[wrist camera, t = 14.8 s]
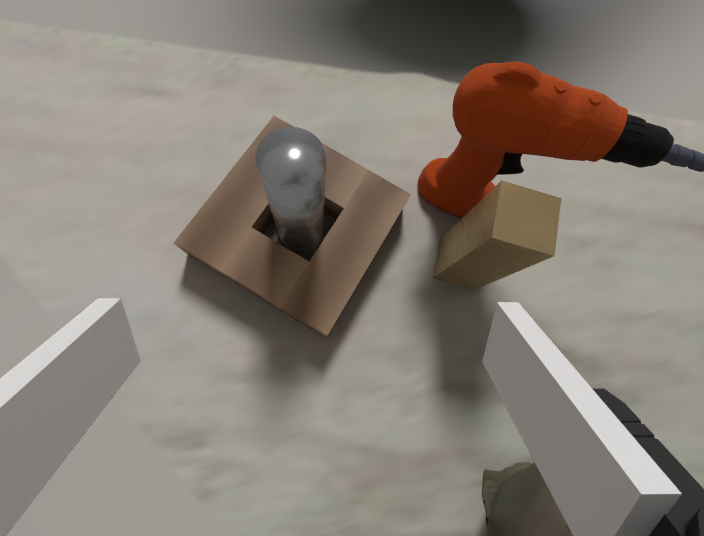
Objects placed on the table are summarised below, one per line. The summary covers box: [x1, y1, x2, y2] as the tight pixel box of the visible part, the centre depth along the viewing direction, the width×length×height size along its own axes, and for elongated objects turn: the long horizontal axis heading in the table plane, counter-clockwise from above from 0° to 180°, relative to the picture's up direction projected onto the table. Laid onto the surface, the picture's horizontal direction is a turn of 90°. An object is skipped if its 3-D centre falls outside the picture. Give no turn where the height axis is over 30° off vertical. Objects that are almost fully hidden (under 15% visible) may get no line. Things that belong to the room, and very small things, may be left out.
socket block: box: [174, 116, 411, 337], centre depth 30 cm, size 14×14×3 cm
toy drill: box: [418, 62, 704, 218], centre depth 26 cm, size 5×19×15 cm, turn 68°
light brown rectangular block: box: [433, 181, 561, 289], centre depth 27 cm, size 4×4×11 cm
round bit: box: [255, 127, 326, 252], centre depth 26 cm, size 4×4×12 cm
